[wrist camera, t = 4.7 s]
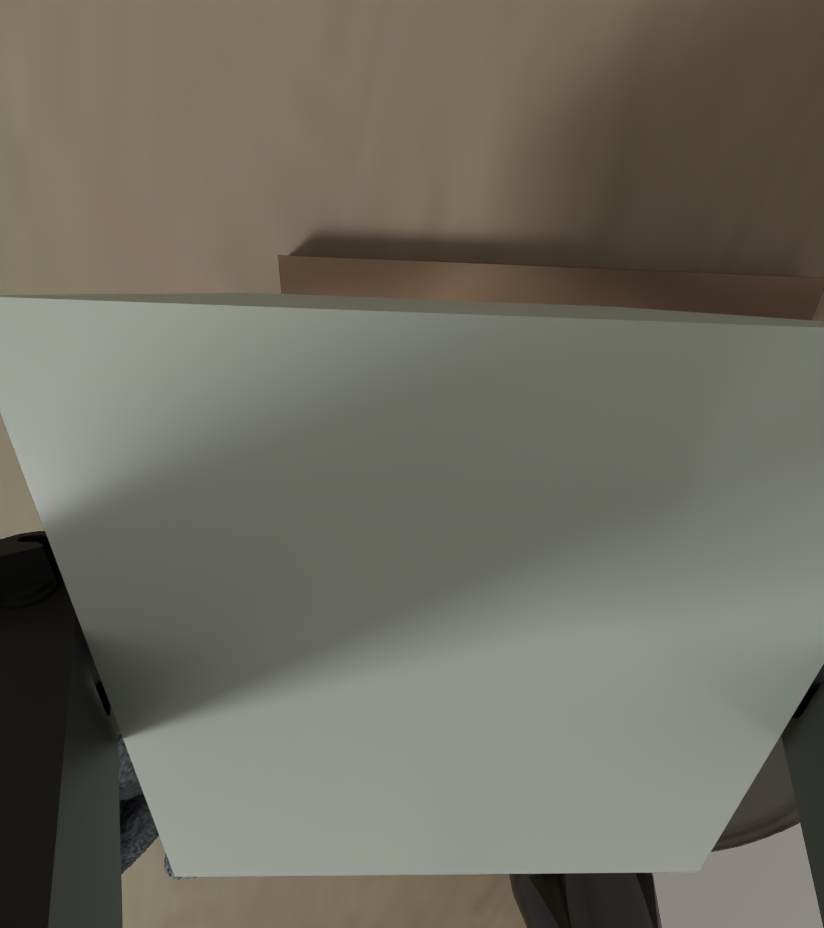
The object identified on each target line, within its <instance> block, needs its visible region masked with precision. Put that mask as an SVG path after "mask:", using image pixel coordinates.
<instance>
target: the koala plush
mask: <svg viewBox="0 0 824 928" xmlns="http://www.w3.org/2000/svg"><path fill="white" fill-rule="evenodd" d="M117 729H118V769H119V809H120V848H121V874H123V872H124V871H125V870H126V869H128V868H129V867H131V865H132V864H133V863H134V862H135V861H136V859H137V858H139V857H140V856H141V854H142V853H144V852H145V851H146V849H147V848H148V847H149V846H150V845H151V844H152V843H153V842H154V840H155V839H156V838H157V837H158V836H159V833H158V831H157V828H156V825H155V823H154V820H153V817H152V815H151V812H150V809H149V807H148V804H147V801H146V799H145V796H144V793H143V791H142V788H141V785H140V783H139V780H138V777H137V775H136V772H135V769H134V767H133V764H132V761H131V759H130V756H129V753H128V751H127V748H126V745H125V743H124V740H123V737H122V735H121V732H120V729H119V727H118V724H117ZM164 863H165V865H164V869H165V870H166V873H167V874H168V877H171V876H172V877H173V879H177V880H180V879H181V878H182V877H175V876H174V873H173V871H172V868H171V865H170V863H169V860H168V857H167V855H166V853H165V860H164ZM184 878H185V879H187V878H193V879H194V878H195V877H184Z"/></svg>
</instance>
